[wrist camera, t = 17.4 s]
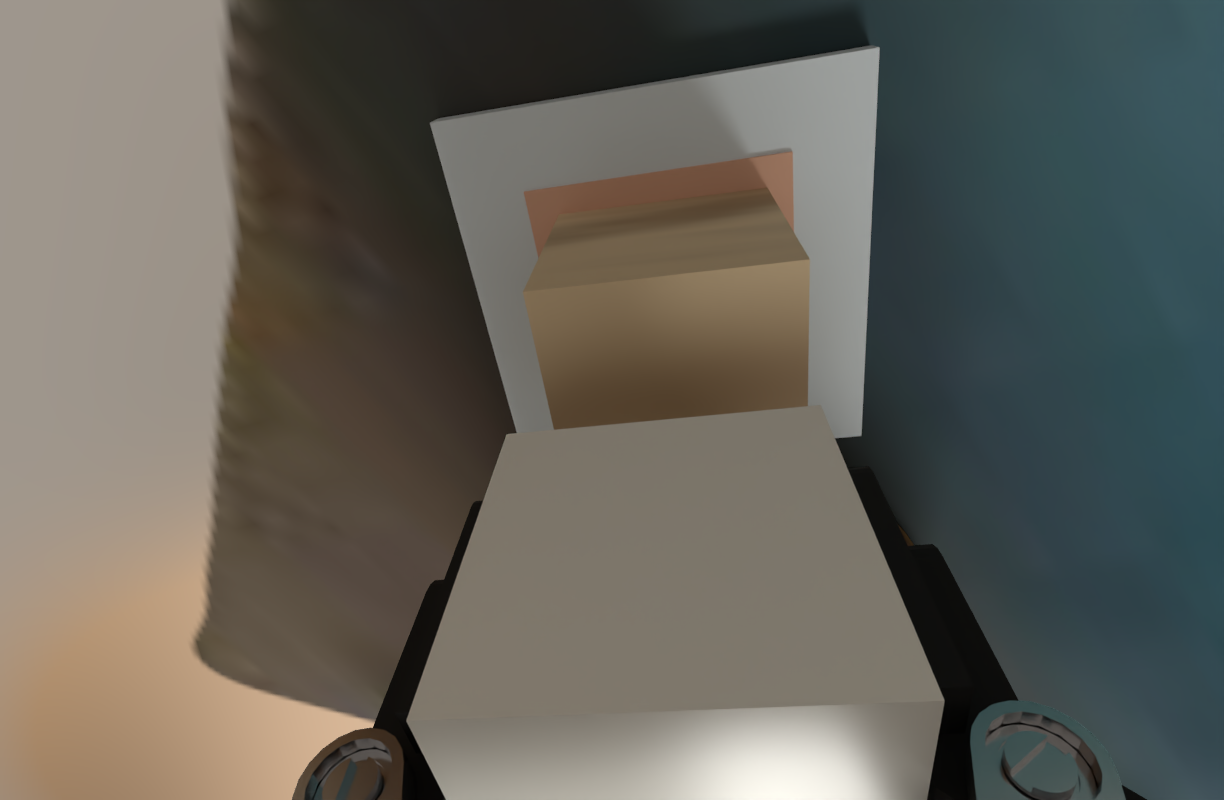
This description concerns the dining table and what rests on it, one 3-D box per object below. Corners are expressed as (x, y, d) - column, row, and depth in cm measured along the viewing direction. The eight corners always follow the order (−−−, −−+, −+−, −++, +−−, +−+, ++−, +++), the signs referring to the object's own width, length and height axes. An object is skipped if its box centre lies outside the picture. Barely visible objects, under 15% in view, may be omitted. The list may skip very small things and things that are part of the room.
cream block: (506, 434, 11) (406, 721, 6) (821, 405, 10) (944, 700, 6) (562, 638, 13) (518, 942, 9) (817, 625, 13) (900, 944, 8)
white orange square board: (438, 118, 19) (428, 123, 18) (870, 45, 17) (880, 47, 16) (530, 453, 25) (525, 468, 24) (855, 423, 23) (862, 437, 22)
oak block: (559, 214, 19) (522, 291, 14) (767, 187, 18) (810, 259, 13) (591, 389, 22) (571, 506, 17) (771, 372, 21) (806, 489, 16)
